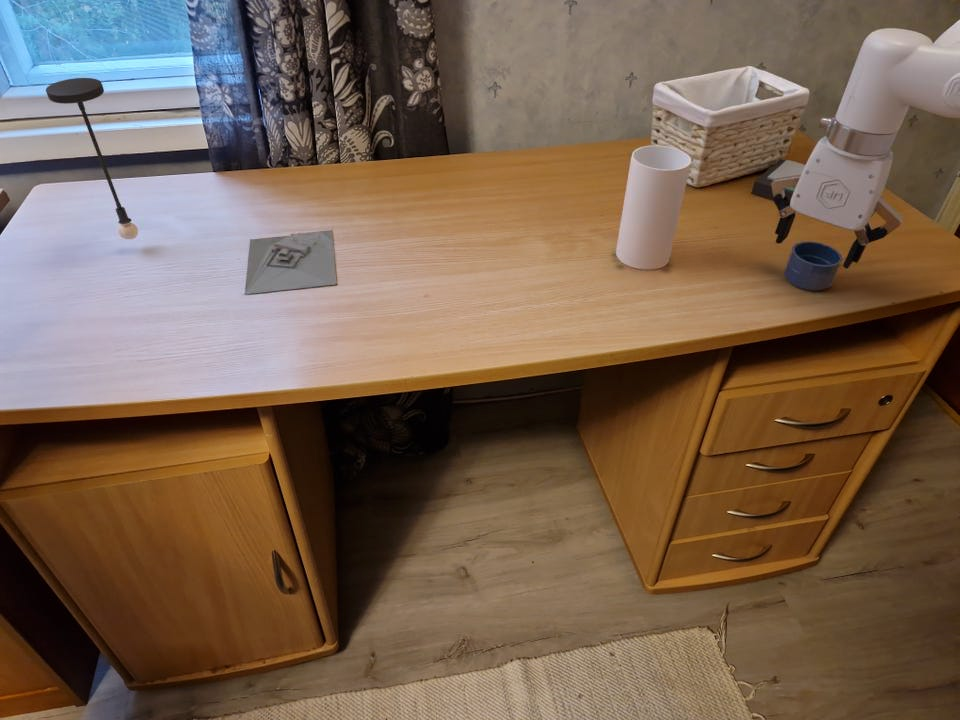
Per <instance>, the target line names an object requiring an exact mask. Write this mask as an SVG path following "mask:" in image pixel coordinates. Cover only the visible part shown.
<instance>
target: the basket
mask: <svg viewBox="0 0 960 720" xmlns="http://www.w3.org/2000/svg"><path fill="white" fill-rule="evenodd" d="M760 88H763V89H765V90H767V91H769V92H772V93H774V94H776V95H778V96H775V97H770V98H766V99H760V98H758V97H757V96H759V92H760ZM810 94H811V93H810V90H809V89H808V88H807V87H803V86H802V85H799V84H797V83H795V82H793V81H790V80H788V79H786V78H784V77H781V76H778V75H776V74H773V73H771V72H769V71H766V70H763V69H759V68H757V67H755V66H751V65H746V66H742V67H738V68H730V69H725V70H719V71H714V72H711V73H705V74H704V73H703V74H700V75H695V76H689V77H683V78H677V79H671V80H666V81H660V82H657V83H656V84H655V85H654V86H653V95H652V102H651V103H652V110H653V111H652V121H651V134H650V135H651V136H650V140H651V141H650V146H654V145H657V146H667V147H672V148H676V149H678V150H681V151H683V152H685V153H686V154H688V155H689V157H690V158H691V165H690V170H689V174H688V179H687V183H686V185H689V186H692V187H693V188H701V187H708V186H711V185H713V184H718V183H721V182H724V181H729V180H732V179H735V178H740V177H742V176H746V175H751V174H754V173H757V172H763V171H764V170H768V169H770V168H771V167H772V166H773V165H774V164H775V163H777V162H778V161H779V160H780V159H782V160H785V159H786V157H787V155H788V154H787V153H788V151H789V149H790V147H791V144H792V140H793V138H794V137H795V134H796V131H797V128H798V125H799V123H800V122H801V117H802V116H803V115H804V113H805V110H806V107H807V105H808V103H809V99H810Z"/></svg>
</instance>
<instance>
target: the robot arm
mask: <svg viewBox="0 0 960 720" xmlns="http://www.w3.org/2000/svg"><path fill="white" fill-rule="evenodd" d="M910 107H914V108H917V109H919V110H922V111H925V112H928V113H931V114H934V115H937V116H940V117H944V118H948V119H949V118H950V119H960V19H959V20H957V21H955V23H954V24H953V25H951V26H950V27H949V28H948V29H946V30H945V31H944V32H943V33H942V34H941V35H940V36H938V38H936V40H935V41H934V42H933V41H932V39H931V38H930V37H928V36H927V35H925V34H923V33H920V32H917V31H914V30H910V29H906V28H905V29H904V28H895V27H894V28H893V27H889V28H887V27H886V28H880V29H879V28H878V29H876V30H873V31H872V32H871V33H869V34H867V37H865V38H864V41H863V42H862V45H861V47H860V49H859V52H858V55H857V57H856V60H855V62H854V65H853V68H852V71H851V73H850V76H849V78H848V82H847V84H846V87H845V90H844V92H843V95H842V98H841V101H840V103H839V105H838V109H837V110H836V113H835V115H834V116H833V117H831V116H830V117H826V116H823V117H822V118H821V120H820V123H819V125H818V128H821V129H824V131H826V135H825V136H823V137H822V138H820V139H819V140H818V142H817V143H816V144H815V146H814V148H813V150H812V151H811V153H810V155H809V156H808V159H807V161H806V162H805V163H806V164H804V165H805V167H804V170H803V172H802V174H801V175H794V176H787V177H781V178H776V179H775V180H774V181H773V182H772V183H771V186H772V192H773V195H774V198H773V200H772V201H773V203H774V205H775V206H776V208H777V210H778V216H779V220H778V223H777V225H776V229H775V231H774V234H775V235H777V236H776V240H775V243H776V244H778V245H780V244H782V243H783V242H784V241H785V240H786V239H787V238H788V236H789V235H790V232H791V229H792V227H793V224H794V221H795V218H796V213H797V214H799V215H802V216H805V217H807V218H810V219H813V220H816V221H819V222H822V223H825V224H828V225H831V226H833V227H836V228H840V229H842V230H846V231H852V232H854V234H855V237H856V239H855V240H854V241H853V242H852V244H851V246H850V248H849V251H848V253H847V255H846V257H845V259H844V262H843V264H842V267H843V268H844V269H846V270H847V269H849V268H850V266H852V264H853V263H856V264H858V263H859V262H860V259H861V258H862V256H863V253H864V251H865V250H866V247H867V245H868V244H870V243H872V242H875V241H879V240H881V239H884V238H886V237H887V236H888V235H889V234H891V233H892V232H893V231H895V230H896V229H898V228H899V227H900V226H901V225H902V224H903V222H904V218H903V217H902V216H901V215H900V214H899V213H898V212H897V211H896V210H895V209H894V208H893V207H891V205H889V204H888V203H887V202H886V201H885V200H884V199H883V198H882V196H883V193H884V191H885V187H886V185H887V182H888V179H889V176H890V172H891V168H892V164H893V161H894V160H893V159H894V152H893V151H892V150H891V149H892V147H893V144H894V143H895V140H896V137H897V136H898V133H899V130H900V129H901V127H902V125H903V122H904V119H905V118H906V115H907V113H908V111H909V108H910ZM793 186H796V188H795V190H794V193H793V195H792V198H791V201H789V199H788V197H787V195H786V194H785V192H784V191H785V190H784V188H786V187H793ZM875 213H877V214H878V215H879V216H880V218H882V219H883V220H884V221H885V223H884V224H883V225H880V226H878V227H877V226H876V227H874V228H873V226H872V223H871V219H872V218H873V216H874V214H875Z"/></svg>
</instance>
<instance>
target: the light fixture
mask: <svg viewBox="0 0 960 720" xmlns="http://www.w3.org/2000/svg"><path fill="white" fill-rule="evenodd" d="M45 92H46V95H47V97H48V100H49V101H51V102H52V103H56V104H63V105H65V104H77V106H78V109H79V111H80V112H81V115H82V118H83V121H84V123H85V125H86V128H87V131H88V133H89V134H88V135H89V136H90V138H91V141H92V144H93V147H94V150H95V152H96V155H97V157H98V159H99V160H98V161H99V163H100V165H101V168H102V170H103V173H104V176H105V179H106V181H107V183H108V187H109V189H110V191H111V192H110V193H111V194H112V197H113V199H114V202H115V205H116V208H115V212H116V215H117V217H118V224H119V226H118V229H117V230H118V234H119V236H120V237H121V238H122V239H123V240H133V239H135V238H137V236H138V234H139V229H138V226H137V225H136V224H134V223H133V222H132V219H131V218H130V217H129V216H128V214H127V210H126V208H125V207H124V206H122V204H121V201H120V200H119V197H118V194H117V192H116V189H115V187H114V183H113V181H112V178H111V175H110V172H109V170H108V168H107V165H106V162H105V160H104V157H103V154H102V152H101V149H100V146H99V143H98V141H97V138H96V135H95V133H94V130H93V128H92V125H91V122H90V120H89V119H90V118H89V117H88V114H87V111H86V108H85V104H84V103H85V102H89V101H92V100H95V99H97V98H99V97H101V96H102V95H103V94H104V93H105V89H104V86H103V83H102V81H101V79H97V78H92V77H75V78H68V79H63V80H59V81H57V82H54V83H51V84H50V85H48V86H47V87H46V88H45Z"/></svg>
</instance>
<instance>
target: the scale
mask: <svg viewBox="0 0 960 720" xmlns="http://www.w3.org/2000/svg"><path fill="white" fill-rule="evenodd" d="M805 165H806V164H804V163H800V162H797V161H793V160H789V159H786V160H785V159H784V160H782V159H780V160H779V161H778V162H777V163H775V164H774V165H773V166H772V167H771V168H769V169H766V171H765V172H764V173H762V174H761V175H760V176H759V177H758V178H756V179H755V180H754V182H753V186H752V189H751V194H752V195H754V196H758V197H761V198H764V199H767V200H771V201H773V198H774V195H773V192H772V186H771V183H772V182H773V181H774V180H775V179H776V178H781V177H787V176H794V175H801V174H802V172H803V170H804V167H805ZM795 188H796V186H793V187H786V188H784V190H785V191H784V192H785V194H786V195H787V197H788V199H789V201H791V198H792V195H793V193H794V190H795Z"/></svg>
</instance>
